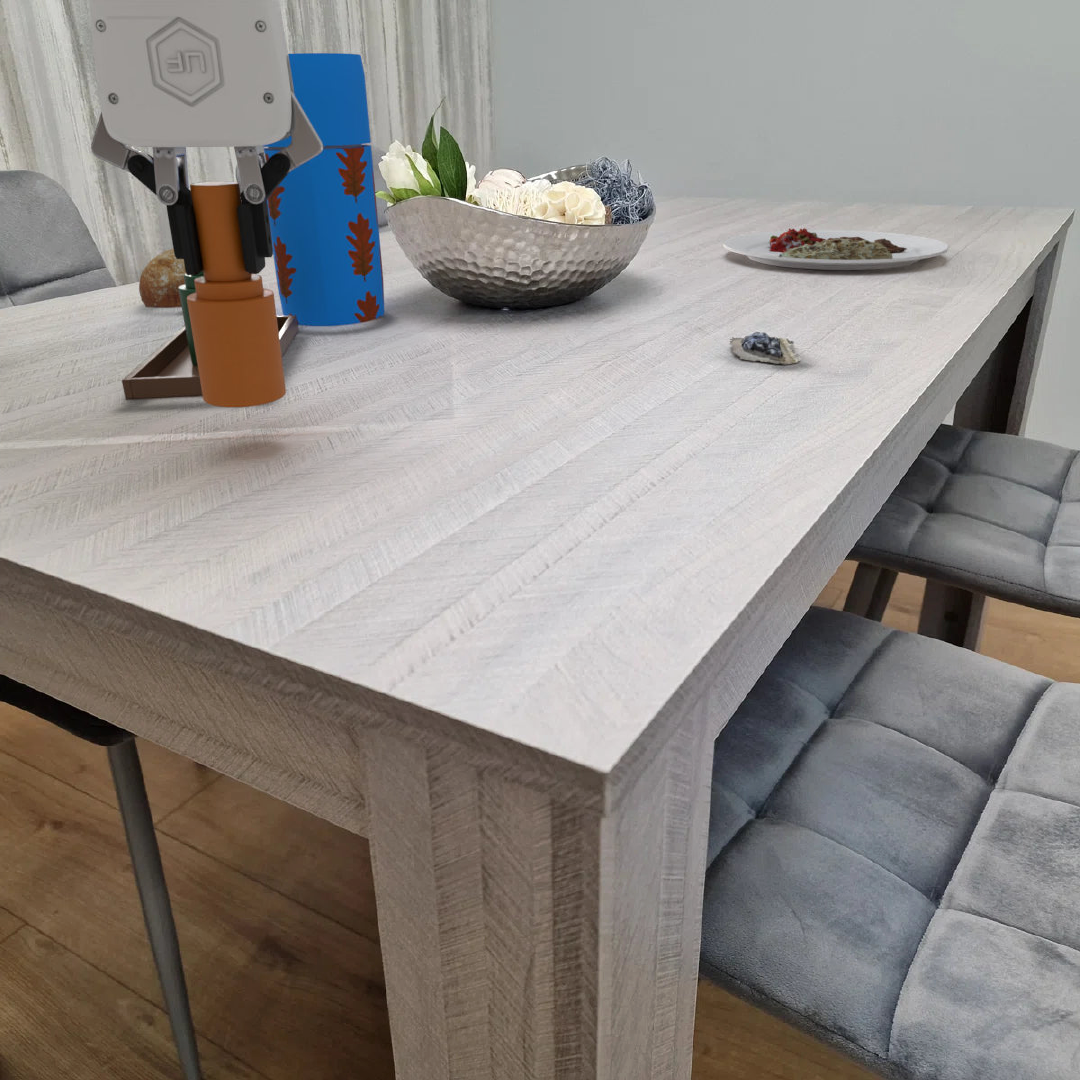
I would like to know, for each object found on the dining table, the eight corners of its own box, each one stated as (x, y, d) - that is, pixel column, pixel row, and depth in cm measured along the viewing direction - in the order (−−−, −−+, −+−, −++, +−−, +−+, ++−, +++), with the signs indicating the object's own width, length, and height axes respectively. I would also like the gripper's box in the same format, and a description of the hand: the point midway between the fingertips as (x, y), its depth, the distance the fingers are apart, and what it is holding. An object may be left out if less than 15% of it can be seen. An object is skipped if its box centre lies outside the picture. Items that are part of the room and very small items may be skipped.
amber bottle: (195, 408, 59) (157, 188, 53) (212, 385, 63) (180, 180, 58) (279, 406, 59) (251, 186, 53) (291, 383, 64) (266, 179, 58)
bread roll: (174, 326, 115) (132, 267, 112) (246, 286, 115) (207, 225, 111) (159, 344, 106) (114, 281, 103) (237, 301, 106) (194, 235, 102)
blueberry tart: (778, 340, 87) (780, 320, 87) (826, 360, 80) (829, 339, 80) (712, 347, 86) (714, 326, 85) (756, 368, 79) (758, 346, 78)
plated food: (924, 281, 113) (928, 252, 111) (690, 266, 127) (692, 240, 125) (961, 248, 136) (965, 224, 135) (760, 238, 150) (762, 216, 149)
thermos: (263, 321, 100) (225, 57, 89) (347, 306, 106) (321, 59, 96) (321, 336, 93) (286, 52, 82) (407, 318, 99) (385, 54, 89)
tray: (127, 406, 72) (121, 380, 71) (194, 340, 92) (190, 319, 91) (261, 400, 73) (257, 374, 72) (299, 336, 93) (296, 315, 92)
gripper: (-15, -100, 46) (68, 285, 54) (324, -95, 47) (356, 279, 55) (43, -75, 52) (109, 263, 60) (338, -71, 54) (365, 258, 62)
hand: (226, 267), depth 58 cm, fingers closed on amber bottle, 2 cm apart
